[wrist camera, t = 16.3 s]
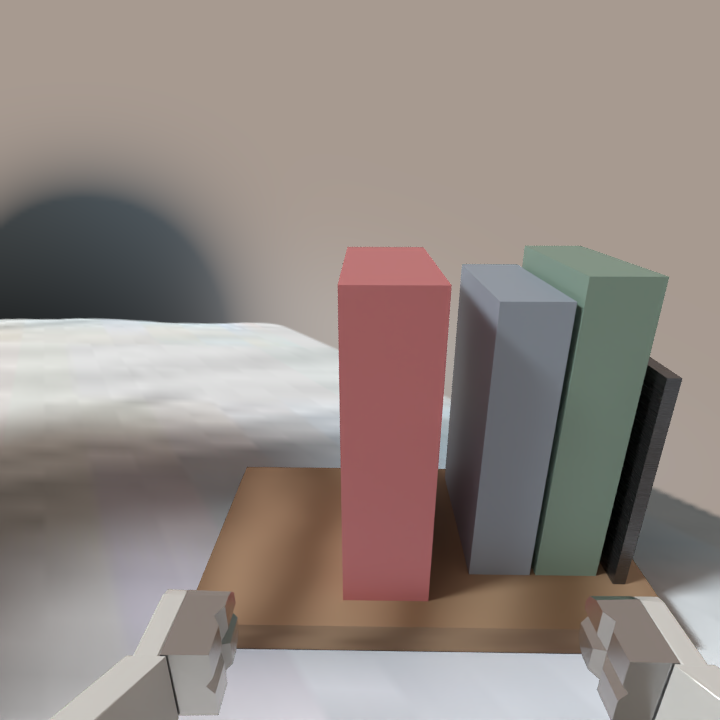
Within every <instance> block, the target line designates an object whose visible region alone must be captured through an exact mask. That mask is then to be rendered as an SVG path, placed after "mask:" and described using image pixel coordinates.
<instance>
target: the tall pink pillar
mask: <svg viewBox="0 0 720 720" xmlns="http://www.w3.org/2000/svg"><path fill="white" fill-rule="evenodd" d="M450 300H451V284H450V283H449V281H448V280H447V279H446V277H445V276H444V275H443V273H442V272H441V271H440V269H439V268H438V267H437V265H436V264H435V262H434V261H433V260H432V258H431V257H430V256H429V254H428V253H427V252H426V250H425V249H424V248H423V247H347V252H346V255H345V259H344V263H343V267H342V271H341V274H340V278H339V282H338V325H339V326H338V327H339V328H338V330H339V390H340V450H341V510H342V570H343V600H367V601H428V598H429V584H430V571H431V557H432V544H433V530H434V517H435V503H436V490H437V476H438V463H439V449H440V435H441V422H442V408H443V395H444V381H445V367H446V353H447V340H448V327H449V313H450Z"/></svg>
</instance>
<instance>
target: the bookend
mask: <svg viewBox="0 0 720 720" xmlns="http://www.w3.org/2000/svg"><path fill="white" fill-rule="evenodd" d="M681 382H682V378H681V377H679V376H677V375H676V374H675V373H673V372H672V371H670V370H669V369H667V368H666V367H664V366H663V365H661V364H660V363H658V362H657V361H655V360H654V359H652V358H651V357H649V361H648V365H647V369H646V373H645V377H644V381H643V385H642V390H641V394H640V398H639V402H638V406H637V410H636V414H635V418H634V422H633V426H632V430H631V434H630V438H629V443H628V447H627V451H626V455H625V459H624V463H623V467H622V471H621V475H620V479H619V483H618V487H617V492H616V496H615V500H614V504H613V508H612V512H611V516H610V520H609V524H608V528H607V532H606V536H605V541H604V545H603V549H602V553H601V557H600V561H599V562H600V564H601V565H602V567H603V569H604V570H605V572H606V574H607V575H608V577H609V579H610V580H611V582H612V584H625V583H626V580H627V576H628V572H629V569H630V565H631V562H632V558H633V554H634V551H635V547H636V544H637V540H638V536H639V533H640V529H641V526H642V522H643V518H644V515H645V511H646V508H647V504H648V500H649V497H650V493H651V490H652V486H653V482H654V479H655V475H656V472H657V468H658V464H659V461H660V457H661V453H662V450H663V446H664V443H665V439H666V435H667V432H668V428H669V425H670V421H671V417H672V414H673V410H674V406H675V403H676V400H677V396H678V392H679V388H680V385H681Z"/></svg>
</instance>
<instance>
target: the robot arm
mask: <svg viewBox="0 0 720 720" xmlns="http://www.w3.org/2000/svg"><path fill="white" fill-rule="evenodd" d="M235 604H236V601H235V595H234V592H229V591H205V590H172V589H168V590H167V591H166V592H165V593H164V595H163V596H162V598H161V600H160V602H159V604H158V606H157V608H156V610H155V612H154V614H153V616H152V618H151V620H150V622H149V624H148V626H147V628H146V630H145V632H144V634H143V637H142V639H141V641H140V643H139V645H138V647H137V649H136V651H135V653H134V655H131V656H125V657H124V658H123V659H122V660H121V661H119V662H118V663H117V664H116V665H115V666H113V667H112V668H111V669H110V670H108V671H107V672H106V673H105V674H104V675H102V676H101V677H100V678H99V679H98V680H96V681H95V682H94V683H93V684H91V685H90V686H89V687H88V688H87V689H85V690H84V691H83V692H82V693H81V694H79V695H78V696H77V697H76V698H75V699H73V700H72V701H71V702H70V703H68V704H67V705H66V706H65V707H64V708H62V709H61V710H60V711H59V712H58V713H56V714H55V715H54V716H53V717H52V718H50V719H49V720H178V719H179V717H178V716H190V715H219V712H220V708H221V704H222V701H223V697H224V694H225V690H226V687H227V677H226V670H227V669H228V668H229V667H230V666H231V665H232V664H233V661H234V657H235V653H236V649H237V642H238V627H239V625H238V617H237V616H236V615H235V614H234V613H233V611H234V607H235ZM584 609H585V611H586V613H587V615H588V617H587V618H586V619H584V620H583V621H582V622H581V624H580V629H579V642H580V649H581V652H582V656H583V659H584V661H585V664H586V666H587V668H588V670H589V671H591V672H592V673H593V674H594V675H595V676H596V677H597V678H598V679H600V680H599V684H598V688H597V691H598V693H599V695H600V697H601V700H602V702H603V704H604V706H605V709H606V711H607V713H608V715H609V717H610V720H720V668H718V667H717V666H715V665H708V664H707V663H706V662H705V660H704V659H703V657H702V656H701V654H700V653H699V652H698V650H697V649H696V647H695V646H694V644H693V643H692V642H691V640H690V639H689V637H688V636H687V634H686V633H685V632H684V630H683V629H682V627H681V626H680V624H679V623H678V622H677V620H676V619H675V617H674V616H673V614H672V613H671V612H670V610H669V609H668V607H667V606H666V604H665V603H664V602H663V600H661V599H660V598H659V597H637V596H635V597H632V596H590V597H589V598H588V599H587V600H586V603H585V607H584Z"/></svg>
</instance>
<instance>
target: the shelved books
mask: <svg viewBox="0 0 720 720" xmlns="http://www.w3.org/2000/svg"><path fill="white" fill-rule="evenodd" d="M668 279H669V277H668V276H665V275H662V274H660V273H657V272H654V271H651V270H648V269H645V268H642V267H640V266H637V265H634V264H630V263H628V262H625V261H622V260H620V259H617V258H614V257H611V256H608V255H605V254H602V253H600V252H597V251H594V250H591V249H588V248H585V247H582V246H525V250H524V258H523V266H522V267H520V266H519V265H517V264H503V265H502V264H462V272H461V285H460V297H459V309H458V321H457V334H456V347H455V359H454V371H453V383H452V396H451V408H450V420H449V433H448V445H447V457H446V470H445V481H446V485H447V489H448V493H449V497H450V501H451V504H452V508H453V512H454V516H455V520H456V524H457V528H458V532H459V536H460V540H461V544H462V548H463V552H464V556H465V560H466V564H467V568H468V572H469V574H483V575H529V574H530V568H531V566H532V568H533V571H534V573H535V575H560V576H596V573H597V569H598V565H599V561H600V557H601V553H602V549H603V545H604V541H605V536H606V532H607V528H608V524H609V520H610V516H611V512H612V508H613V504H614V500H615V496H616V492H617V487H618V483H619V479H620V475H621V471H622V467H623V463H624V459H625V455H626V451H627V447H628V443H629V438H630V434H631V430H632V426H633V422H634V418H635V414H636V410H637V406H638V402H639V398H640V394H641V390H642V385H643V381H644V377H645V373H646V369H647V365H648V361H649V357H650V353H651V349H652V344H653V341H654V336H655V332H656V328H657V324H658V320H659V316H660V312H661V308H662V304H663V300H664V296H665V291H666V287H667V283H668Z"/></svg>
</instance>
